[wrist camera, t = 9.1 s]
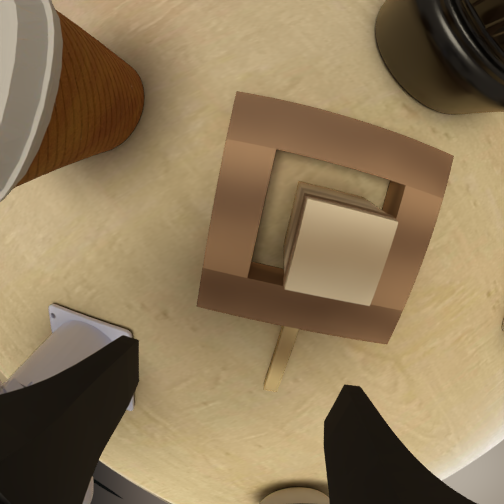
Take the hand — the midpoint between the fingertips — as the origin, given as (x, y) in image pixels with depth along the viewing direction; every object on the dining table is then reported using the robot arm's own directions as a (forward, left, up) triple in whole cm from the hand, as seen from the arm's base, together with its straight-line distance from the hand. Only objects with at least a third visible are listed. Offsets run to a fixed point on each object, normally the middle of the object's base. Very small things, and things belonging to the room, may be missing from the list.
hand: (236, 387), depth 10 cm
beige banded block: (+4, -3, -10) cm, 12 cm away
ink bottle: (+17, -8, -11) cm, 22 cm away
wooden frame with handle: (0, -3, -10) cm, 11 cm away
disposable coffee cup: (+9, +12, -11) cm, 18 cm away
